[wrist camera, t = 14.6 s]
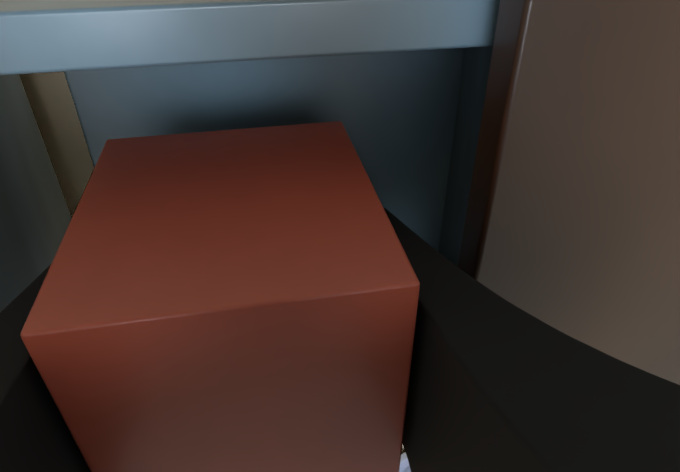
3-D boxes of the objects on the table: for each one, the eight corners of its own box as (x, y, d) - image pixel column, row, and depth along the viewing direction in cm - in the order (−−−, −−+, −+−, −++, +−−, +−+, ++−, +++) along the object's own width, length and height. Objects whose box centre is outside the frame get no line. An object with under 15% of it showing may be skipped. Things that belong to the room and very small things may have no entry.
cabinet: (368, 279, 19) (437, 473, 13) (381, -120, 12) (549, -119, 6) (692, 238, 21) (888, 388, 15) (868, -125, 14) (1377, -126, 8)
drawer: (-101, 343, 16) (-240, 542, 11) (-402, -73, 9) (-1034, -25, 5) (442, 274, 18) (518, 411, 13) (494, -89, 12) (670, -69, 7)
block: (342, 289, 13) (398, 484, 8) (157, 313, 12) (123, 537, 8) (342, 119, 10) (422, 282, 6) (106, 138, 9) (16, 334, 5)
